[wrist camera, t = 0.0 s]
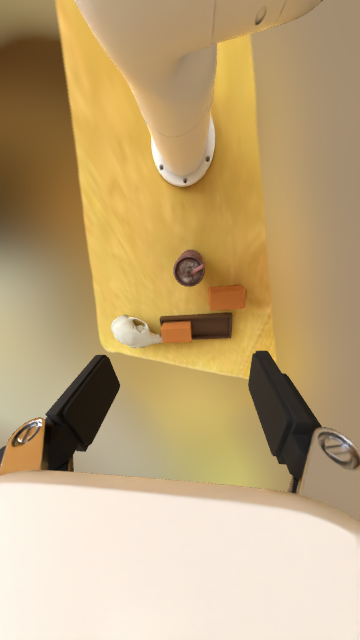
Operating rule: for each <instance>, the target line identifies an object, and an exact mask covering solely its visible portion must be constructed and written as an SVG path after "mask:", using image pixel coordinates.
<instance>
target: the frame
mask: <svg viewBox="0 0 360 640" xmlns="http://www.w3.org/2000/svg"><path fill="white" fill-rule="evenodd" d="M183 320H191V328H192V340H193V339H221V338H231V332H232V313H214V314H197V315H179V316H162V317H161V318H160V324H161V327H162V324H163V322H164V321H183Z"/></svg>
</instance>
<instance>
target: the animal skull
mask: <svg viewBox="0 0 360 640" xmlns="http://www.w3.org/2000/svg"><path fill="white" fill-rule="evenodd" d="M133 319H136V320H138V321H141V322H143V323H144V324H145V326H143V325H138V326H136V325H134V323H133ZM111 330H112V332H113V334H114V336H115V338H116V339H117V340H118V341H119V342H121V343H123V344H125V345H128V346H131V347H130V348H136V347H139V348H143V347H146V346H149V345H151V344H160V343H162V341H163V340H162V337H161V334H154V333H152V332H150V330H149V327H148V325H147V324H146V322H144V321H142V320H140V319H138V318H135V317H128V316H127V315H122V316H119V317H117V318H116V319H115V320H114V321H113V323H112V325H111Z"/></svg>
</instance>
